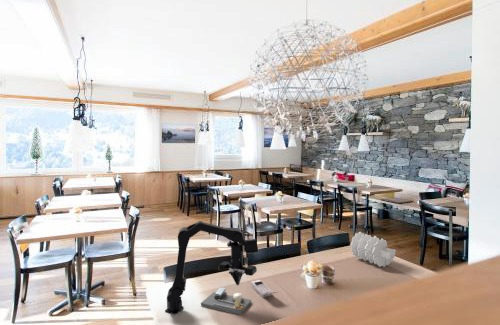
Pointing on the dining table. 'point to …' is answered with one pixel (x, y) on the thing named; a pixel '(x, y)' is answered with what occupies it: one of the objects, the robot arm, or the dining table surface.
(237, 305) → the wood grain cube
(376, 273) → the dining table surface
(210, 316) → the dining table surface
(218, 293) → the rocker switch
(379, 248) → the spiral staircase
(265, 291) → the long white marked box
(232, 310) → the control panel
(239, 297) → the push button
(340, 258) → the dining table surface
